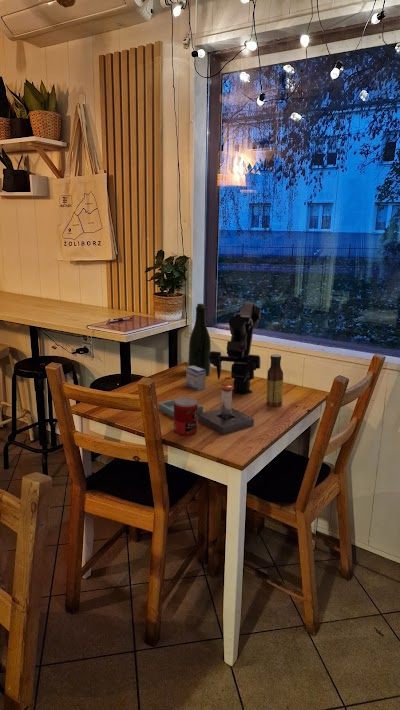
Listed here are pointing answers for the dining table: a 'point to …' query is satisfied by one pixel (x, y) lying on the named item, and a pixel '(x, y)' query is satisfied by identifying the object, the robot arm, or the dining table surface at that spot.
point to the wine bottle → (200, 342)
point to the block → (225, 421)
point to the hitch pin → (226, 400)
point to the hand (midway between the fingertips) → (231, 380)
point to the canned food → (185, 416)
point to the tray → (169, 408)
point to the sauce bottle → (275, 382)
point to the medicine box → (196, 377)
